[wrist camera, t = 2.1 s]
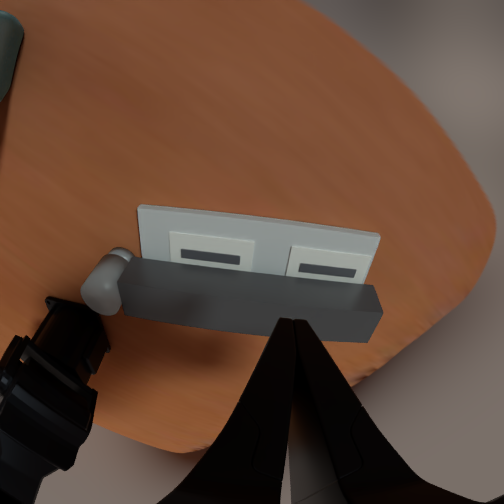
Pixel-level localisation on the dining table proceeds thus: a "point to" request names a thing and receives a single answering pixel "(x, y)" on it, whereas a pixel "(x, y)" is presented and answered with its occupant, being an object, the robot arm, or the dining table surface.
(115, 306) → the bar
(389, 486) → the robot arm
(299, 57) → the dining table surface
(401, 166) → the dining table surface
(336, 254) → the label board
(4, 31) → the flower pot
